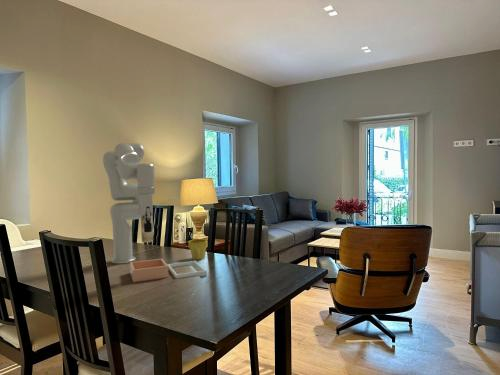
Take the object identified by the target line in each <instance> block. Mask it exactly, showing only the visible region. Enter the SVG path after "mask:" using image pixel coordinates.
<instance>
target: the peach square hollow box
mask: <svg viewBox="0 0 500 375" xmlns="http://www.w3.org/2000/svg"><path fill="white" fill-rule="evenodd" d="M167 264H168V263H167V262H166V261H165V260H164V259H163V258H156V259H147V260H139V261H138V260H137V261H132V262H129V274H130V277H131V279H132V283H135V282H142V281H143V282H144V281H150V280H159V279H165V278H169V276H170V275H169V269H168V265H167Z"/></svg>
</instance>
